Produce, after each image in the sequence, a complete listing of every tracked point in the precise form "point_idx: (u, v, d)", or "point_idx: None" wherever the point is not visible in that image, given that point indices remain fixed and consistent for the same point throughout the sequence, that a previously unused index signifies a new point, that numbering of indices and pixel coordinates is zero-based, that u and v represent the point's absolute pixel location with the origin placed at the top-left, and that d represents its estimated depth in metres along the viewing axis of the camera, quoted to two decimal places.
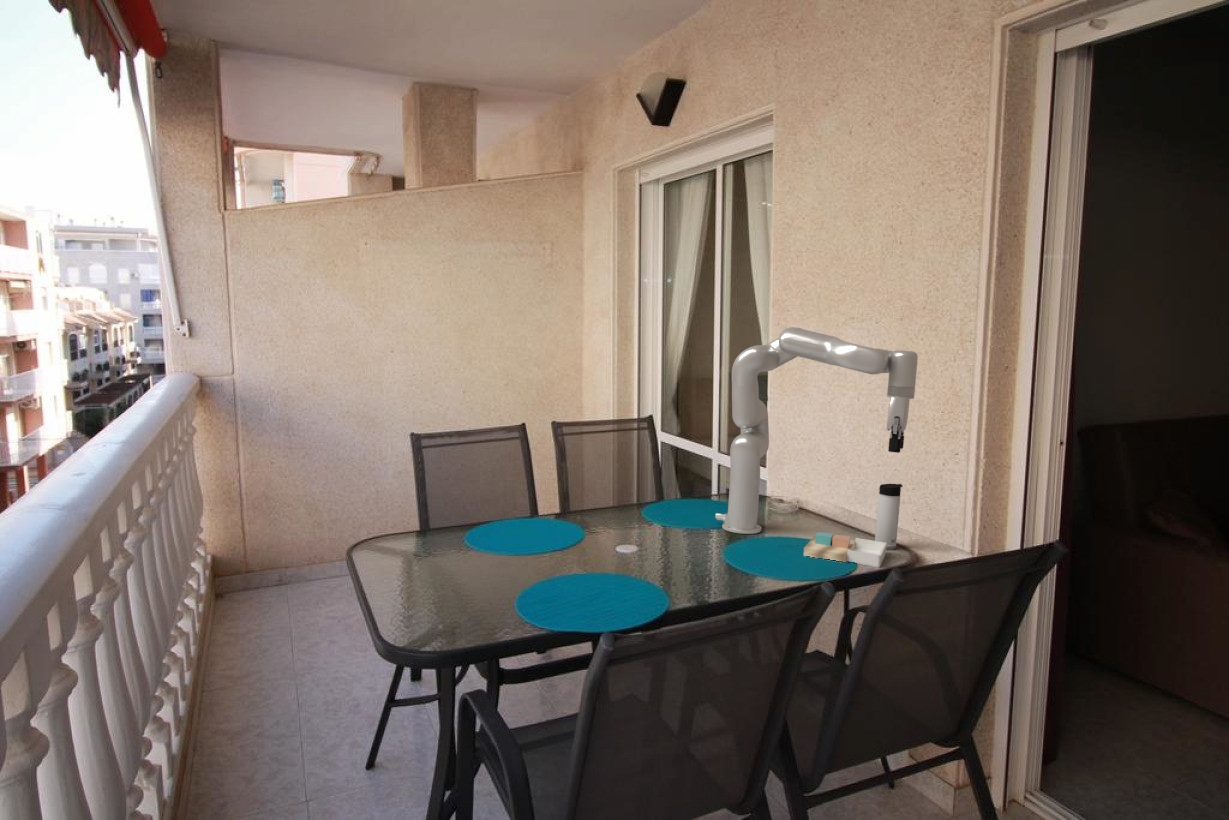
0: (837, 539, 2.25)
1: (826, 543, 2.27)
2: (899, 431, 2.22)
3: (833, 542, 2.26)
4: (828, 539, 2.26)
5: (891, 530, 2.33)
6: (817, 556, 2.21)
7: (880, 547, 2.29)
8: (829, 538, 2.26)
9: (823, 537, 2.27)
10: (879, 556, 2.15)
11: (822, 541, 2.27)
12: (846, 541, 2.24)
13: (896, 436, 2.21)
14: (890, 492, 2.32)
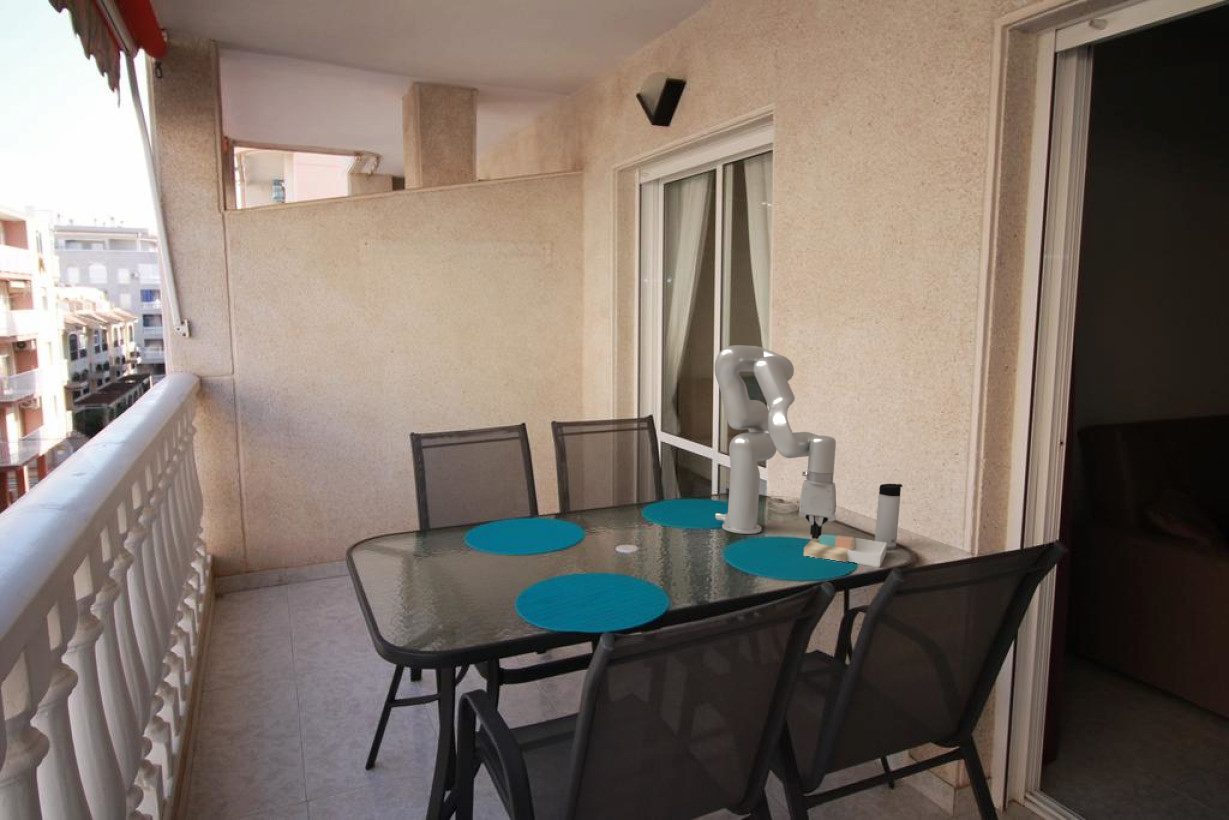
0: (840, 539, 2.25)
1: (831, 544, 2.26)
2: (824, 518, 2.29)
3: (836, 542, 2.25)
4: (833, 540, 2.26)
5: (891, 530, 2.33)
6: (817, 556, 2.21)
7: (880, 547, 2.29)
8: (834, 539, 2.26)
9: (828, 538, 2.26)
10: (879, 556, 2.15)
11: (827, 542, 2.27)
12: (849, 541, 2.24)
13: (824, 522, 2.29)
14: (890, 492, 2.32)
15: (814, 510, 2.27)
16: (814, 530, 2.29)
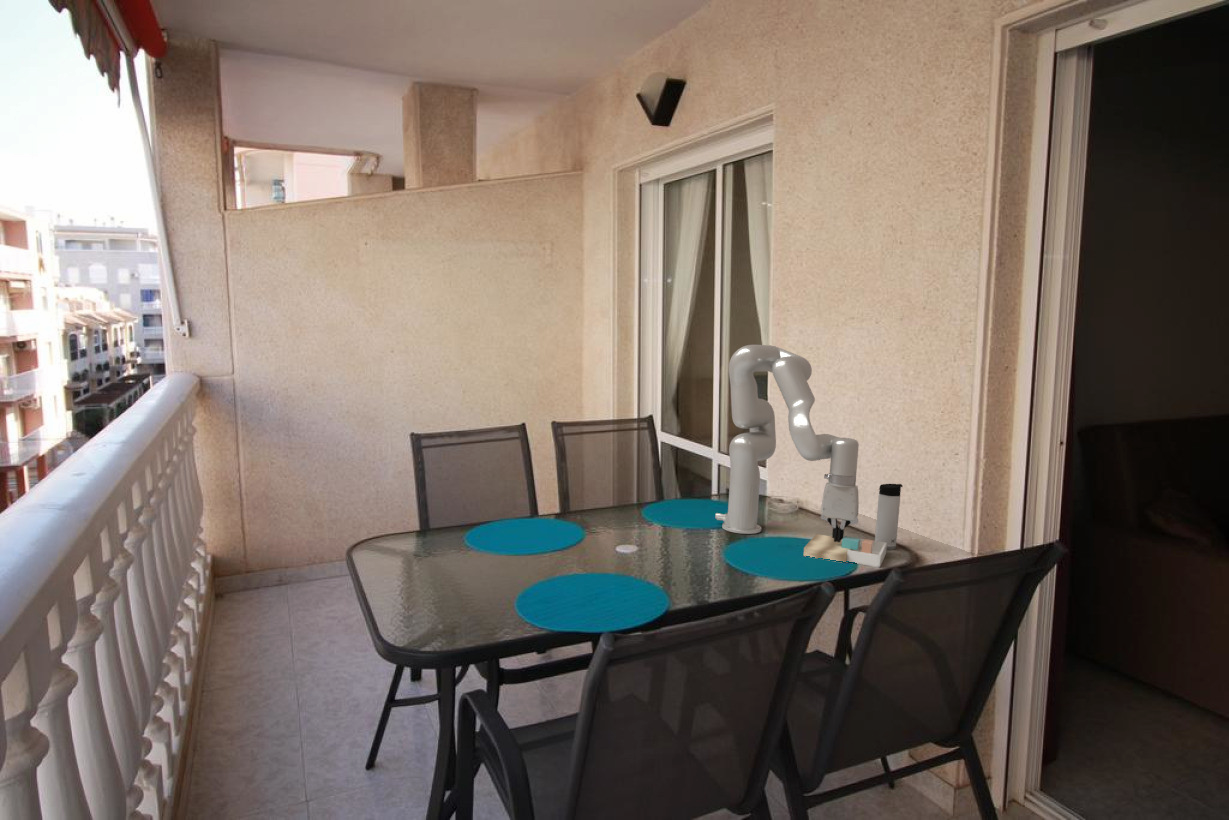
0: (869, 548, 2.21)
1: (853, 547, 2.23)
2: None
3: (866, 544, 2.22)
4: (855, 543, 2.23)
5: (891, 530, 2.33)
6: (817, 556, 2.21)
7: (880, 547, 2.29)
8: (856, 542, 2.23)
9: (850, 541, 2.24)
10: (879, 556, 2.15)
11: (849, 545, 2.24)
12: None
13: (846, 526, 2.26)
14: (890, 492, 2.32)
15: (836, 513, 2.24)
16: (836, 533, 2.26)
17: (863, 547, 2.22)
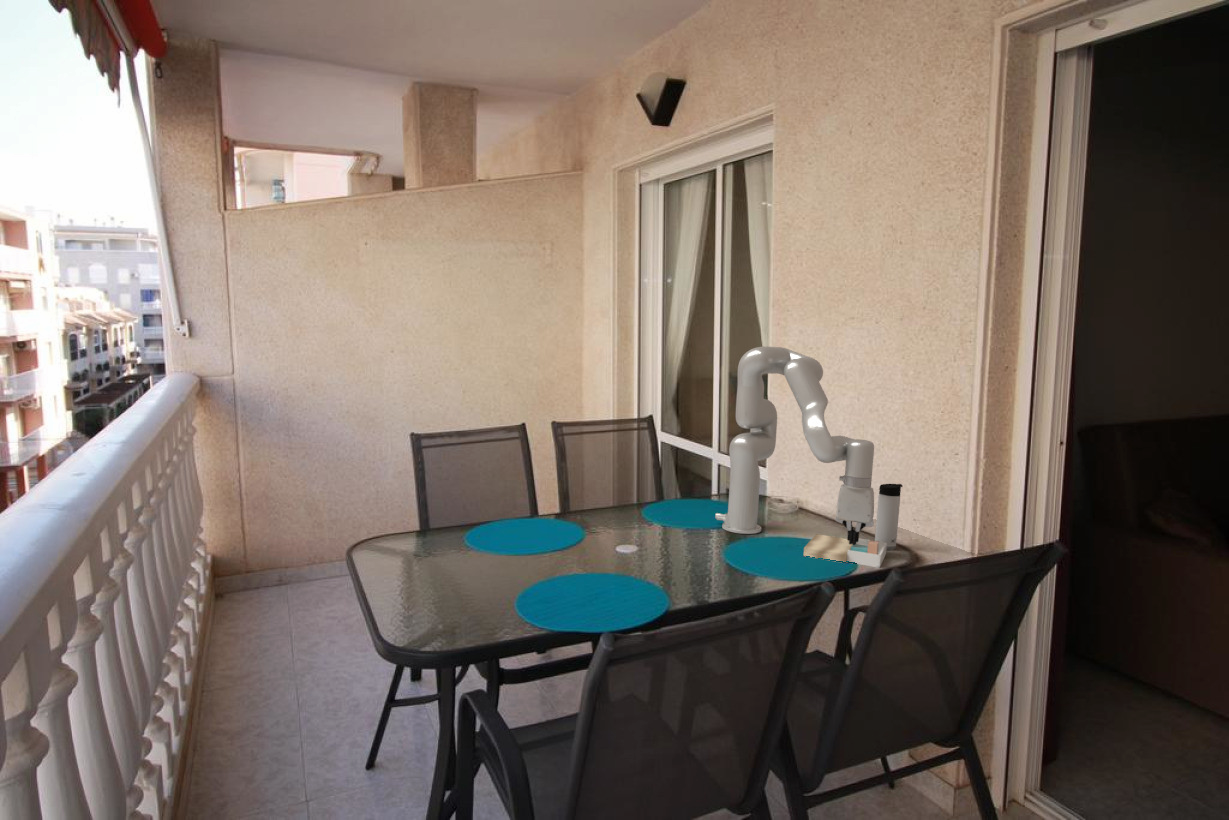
0: (875, 549, 2.21)
1: None
2: (862, 523, 2.25)
3: (872, 545, 2.21)
4: (864, 551, 2.22)
5: (891, 530, 2.33)
6: (817, 556, 2.21)
7: (880, 547, 2.29)
8: (865, 550, 2.22)
9: (859, 549, 2.23)
10: (879, 556, 2.15)
11: None
12: None
13: None
14: (890, 492, 2.32)
15: (852, 515, 2.22)
16: (851, 536, 2.24)
17: (869, 548, 2.21)
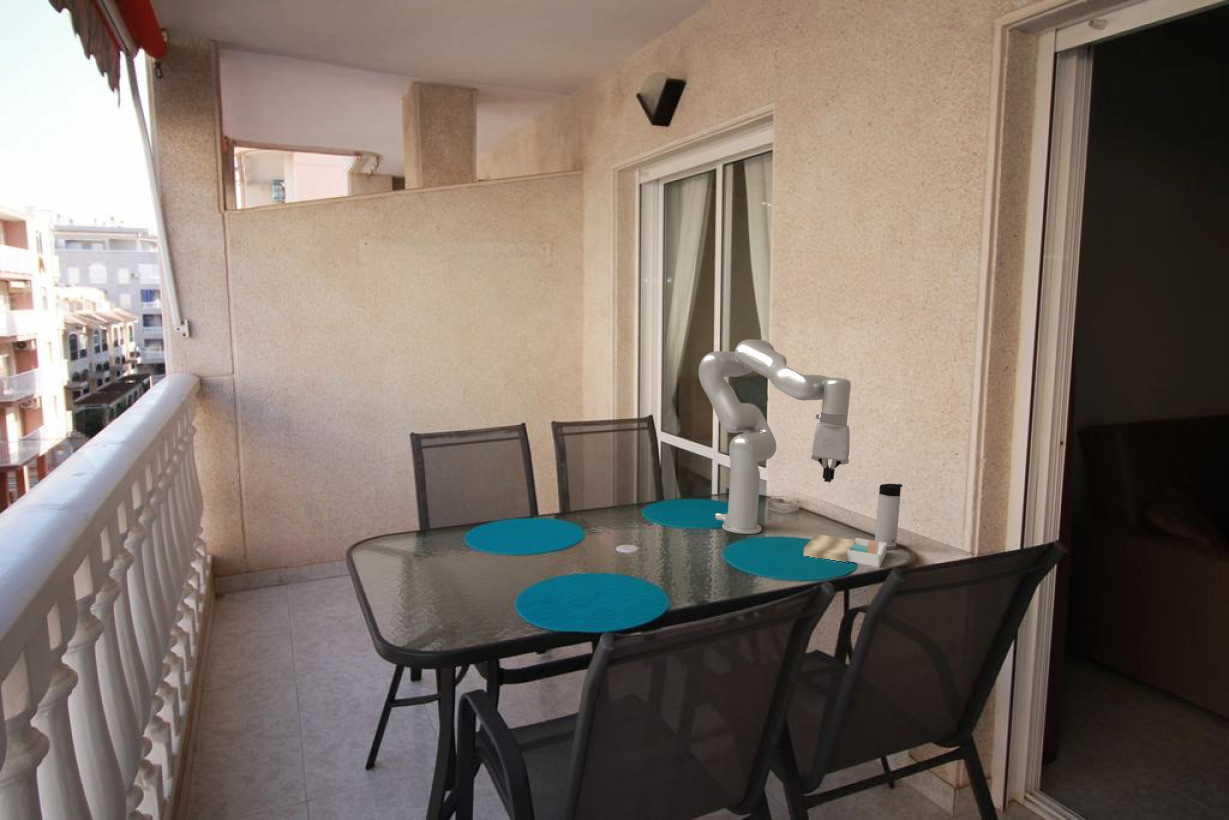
0: (875, 549, 2.21)
1: None
2: None
3: (872, 545, 2.21)
4: (864, 551, 2.22)
5: (891, 530, 2.33)
6: (817, 556, 2.21)
7: (880, 547, 2.29)
8: (865, 550, 2.22)
9: (859, 549, 2.23)
10: (879, 556, 2.15)
11: None
12: None
13: None
14: (890, 492, 2.32)
15: (827, 453, 2.24)
16: (827, 473, 2.26)
17: (869, 548, 2.21)
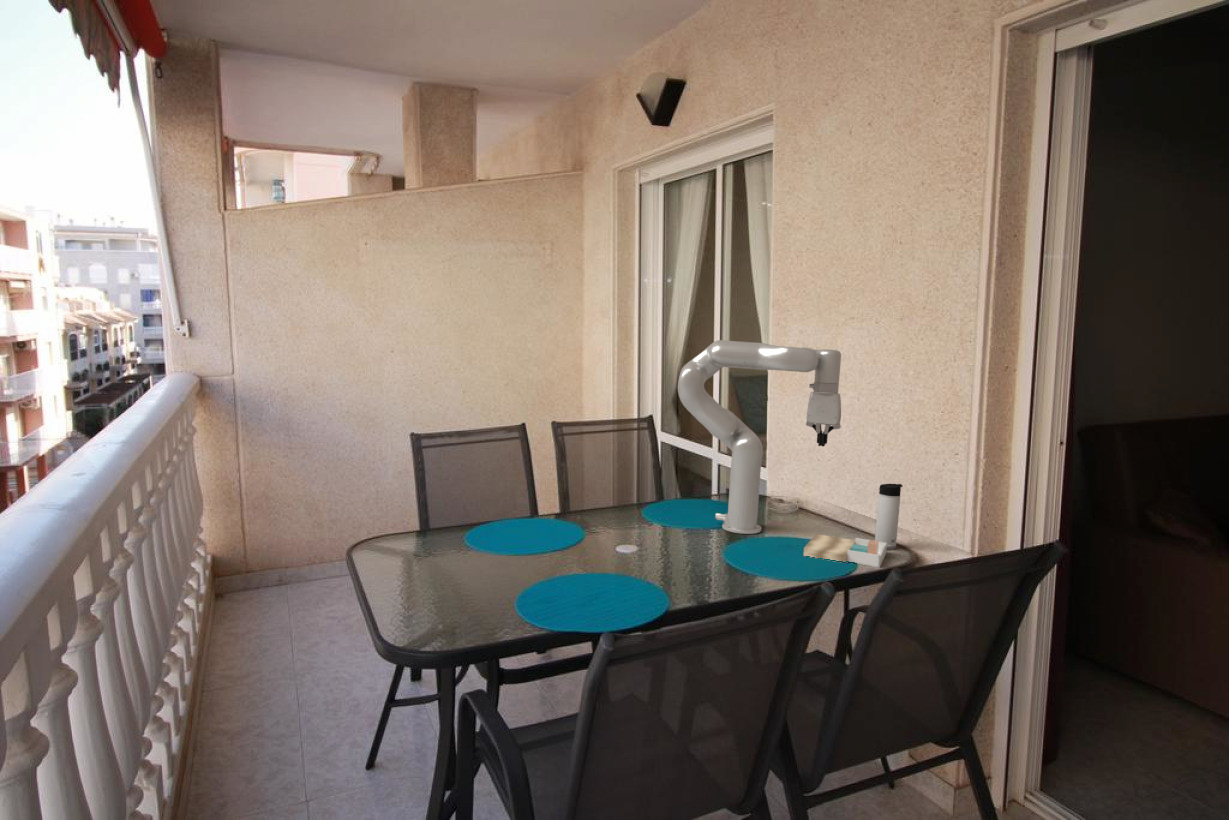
0: (875, 549, 2.21)
1: None
2: (830, 427, 2.45)
3: (872, 545, 2.21)
4: (864, 551, 2.22)
5: (891, 530, 2.33)
6: (817, 556, 2.21)
7: (880, 547, 2.29)
8: (865, 550, 2.22)
9: (859, 549, 2.23)
10: (879, 556, 2.15)
11: None
12: None
13: None
14: (890, 492, 2.32)
15: (820, 419, 2.42)
16: (820, 438, 2.44)
17: (869, 548, 2.21)
